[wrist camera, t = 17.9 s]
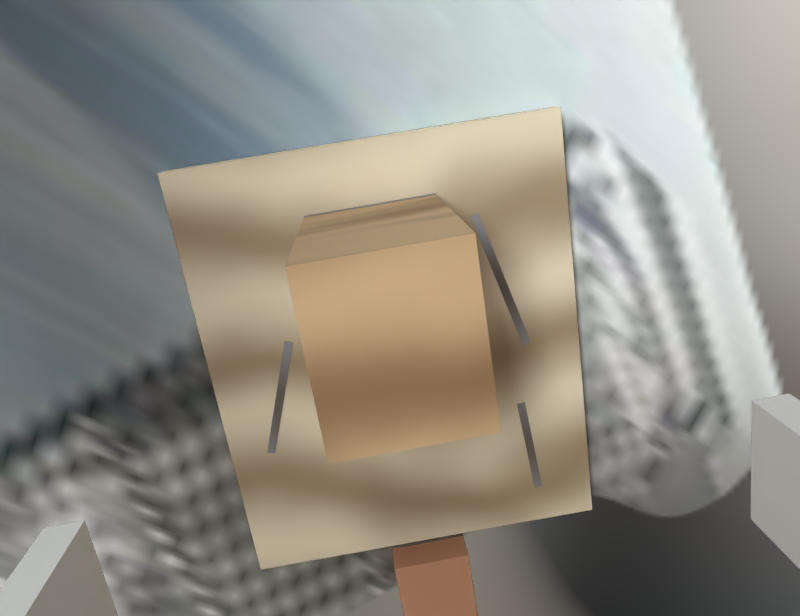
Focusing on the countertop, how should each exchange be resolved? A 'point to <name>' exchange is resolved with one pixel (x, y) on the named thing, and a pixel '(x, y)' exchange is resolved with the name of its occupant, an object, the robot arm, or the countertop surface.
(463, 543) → the terracotta square block
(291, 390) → the birch board
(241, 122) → the countertop surface
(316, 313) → the cardboard box
